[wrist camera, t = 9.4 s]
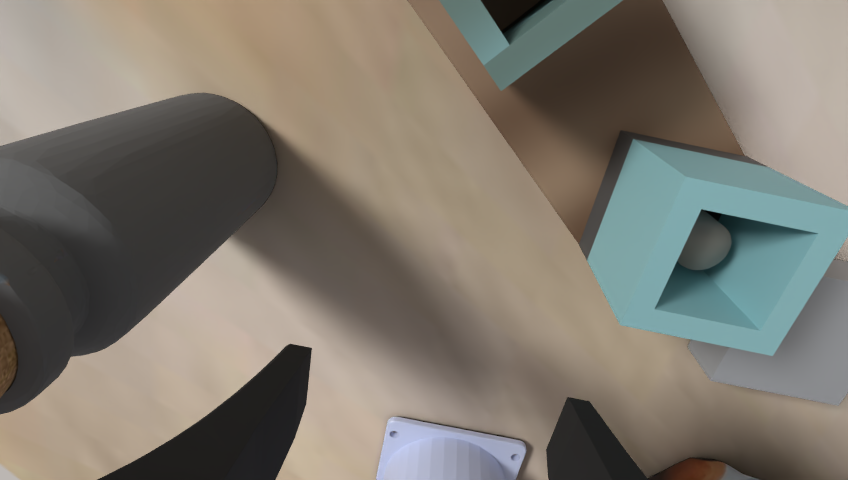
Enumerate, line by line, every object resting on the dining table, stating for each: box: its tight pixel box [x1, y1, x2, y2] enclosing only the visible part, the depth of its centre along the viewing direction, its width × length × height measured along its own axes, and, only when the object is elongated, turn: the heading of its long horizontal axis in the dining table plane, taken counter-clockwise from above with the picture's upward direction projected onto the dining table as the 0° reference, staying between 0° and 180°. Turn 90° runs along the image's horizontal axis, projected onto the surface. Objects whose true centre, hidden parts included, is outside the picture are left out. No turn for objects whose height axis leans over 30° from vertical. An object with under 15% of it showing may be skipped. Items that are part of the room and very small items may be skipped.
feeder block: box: [687, 259, 848, 406], centre depth 22 cm, size 6×6×2 cm
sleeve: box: [579, 130, 848, 356], centre depth 17 cm, size 5×5×6 cm
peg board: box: [408, 0, 744, 270], centre depth 16 cm, size 18×7×8 cm, turn 38°
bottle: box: [0, 93, 277, 414], centre depth 15 cm, size 6×6×15 cm
